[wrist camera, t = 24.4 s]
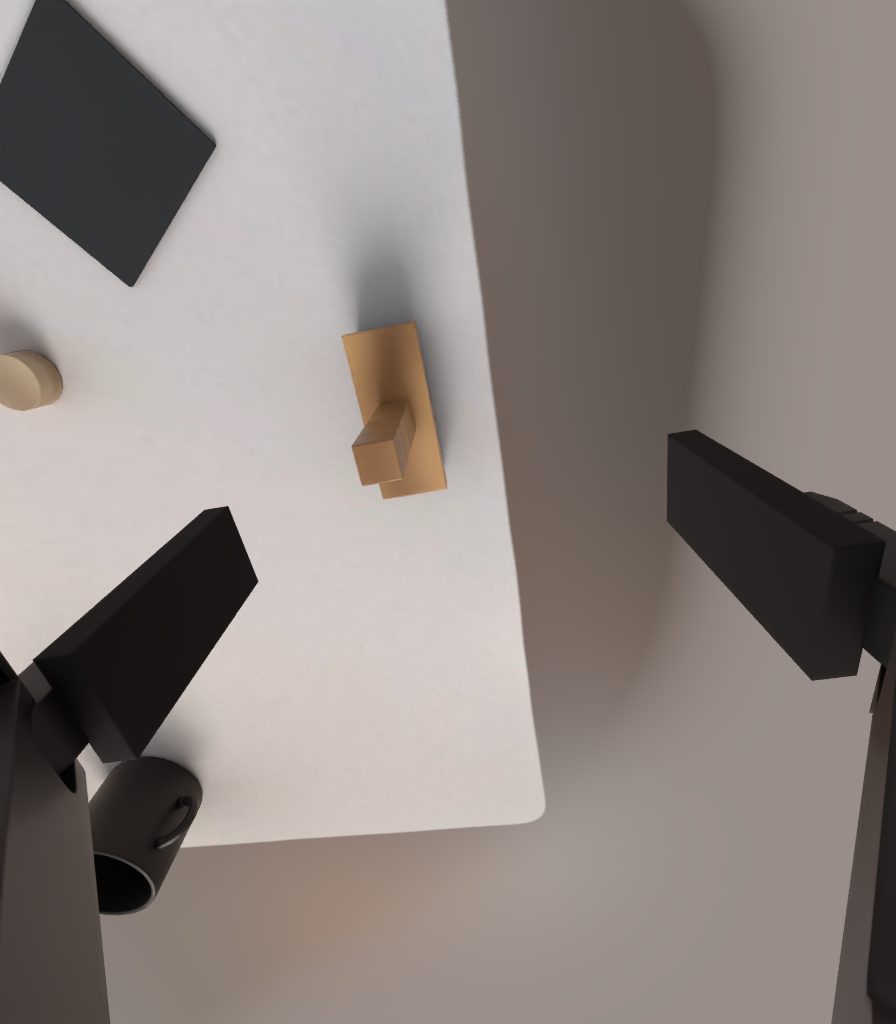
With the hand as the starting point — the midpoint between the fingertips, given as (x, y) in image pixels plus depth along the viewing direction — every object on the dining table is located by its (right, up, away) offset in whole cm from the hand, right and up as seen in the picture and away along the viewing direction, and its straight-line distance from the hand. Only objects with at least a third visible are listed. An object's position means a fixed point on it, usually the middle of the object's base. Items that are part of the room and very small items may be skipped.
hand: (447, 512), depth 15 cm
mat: (-20, +21, +13) cm, 32 cm away
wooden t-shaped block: (-3, +7, +19) cm, 21 cm away
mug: (-29, -28, +35) cm, 53 cm away
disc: (-28, +9, +19) cm, 35 cm away
